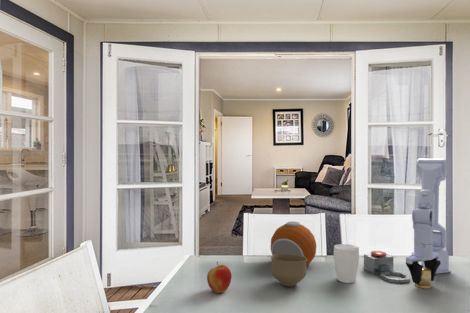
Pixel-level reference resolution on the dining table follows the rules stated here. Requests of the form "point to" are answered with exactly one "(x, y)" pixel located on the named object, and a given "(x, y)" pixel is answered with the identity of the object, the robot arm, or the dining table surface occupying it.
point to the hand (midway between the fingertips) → (423, 281)
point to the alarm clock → (294, 241)
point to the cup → (346, 262)
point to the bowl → (288, 268)
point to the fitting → (425, 279)
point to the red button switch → (383, 267)
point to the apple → (219, 278)
